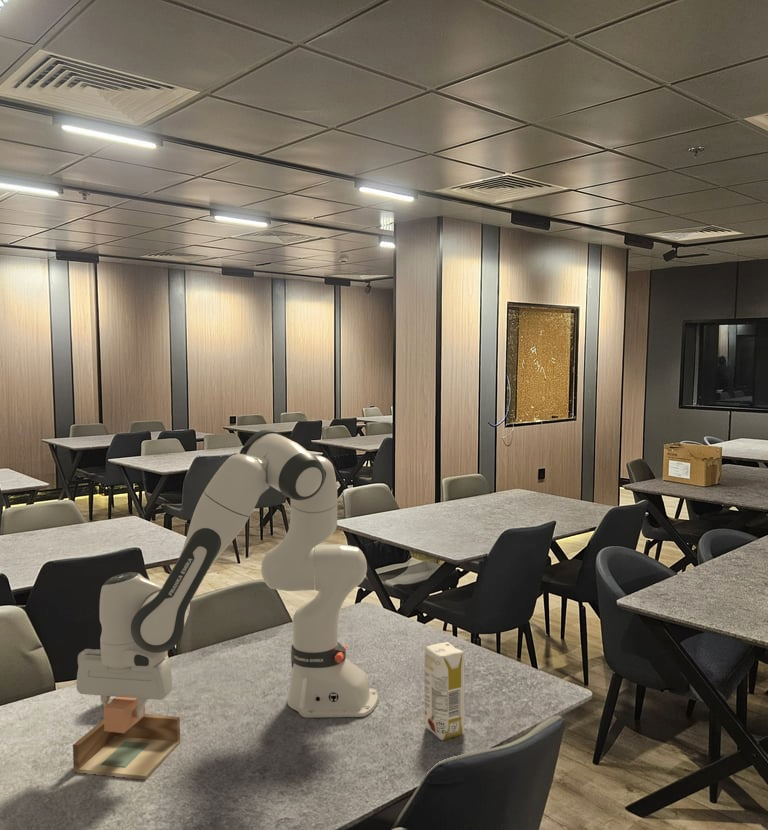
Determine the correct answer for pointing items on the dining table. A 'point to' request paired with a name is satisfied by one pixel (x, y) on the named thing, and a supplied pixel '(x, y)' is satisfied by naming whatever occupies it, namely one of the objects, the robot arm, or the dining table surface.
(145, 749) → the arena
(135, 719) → the brick
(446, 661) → the juice carton
